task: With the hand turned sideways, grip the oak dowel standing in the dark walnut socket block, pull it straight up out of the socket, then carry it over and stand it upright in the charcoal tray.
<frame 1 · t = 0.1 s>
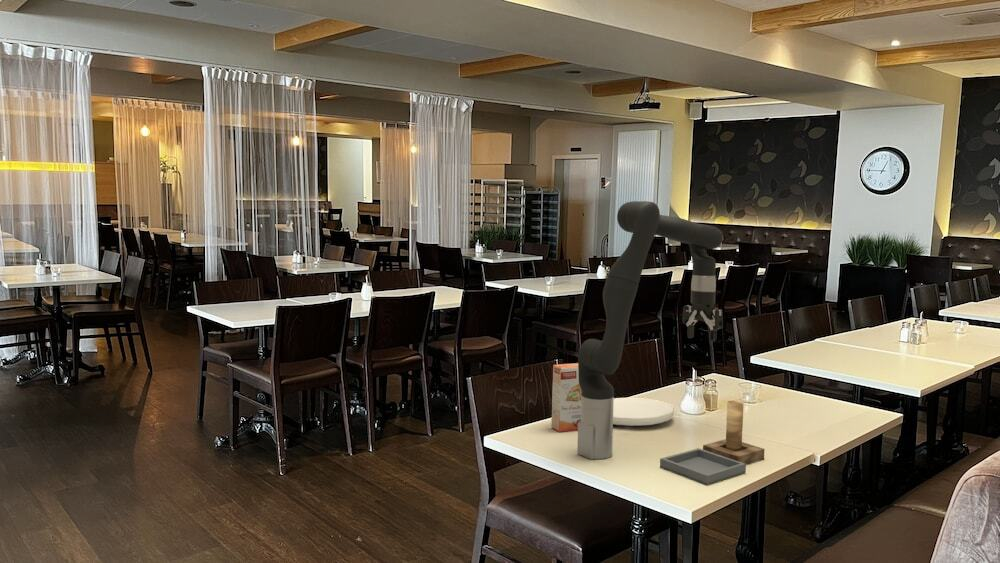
hand: (701, 339, 238), 29 cm above the table, tool pointing down, fingers open, 8 cm apart
dowel: (734, 430, 212), in the socket block
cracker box: (574, 428, 240), on the table
tray: (702, 470, 202), on the table
plate: (631, 420, 251), on the table
socket block: (733, 457, 213), on the table
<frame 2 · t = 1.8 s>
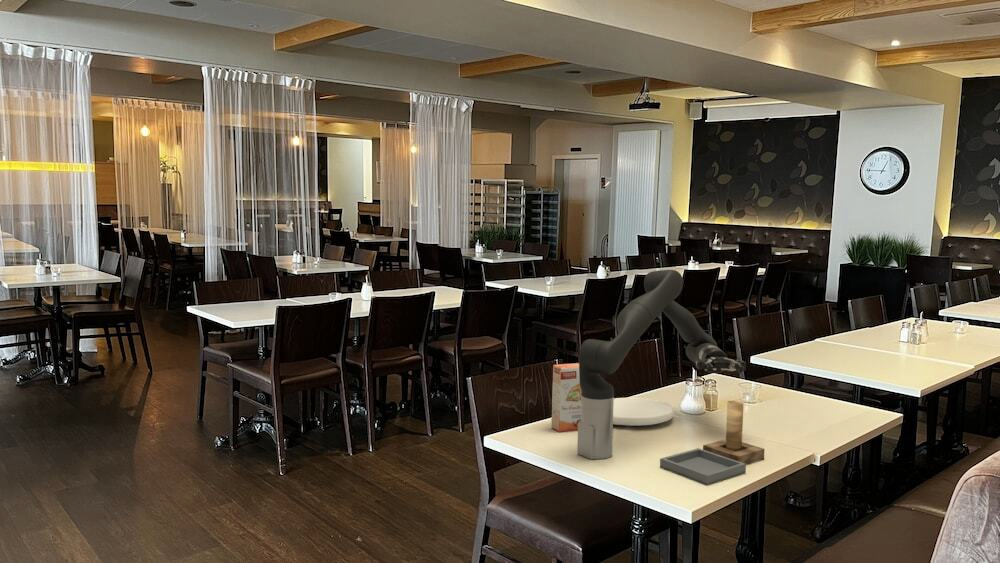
hand: (726, 369, 222), 23 cm above the table, tool horizontal, fingers open, 8 cm apart
nothing on the table moved.
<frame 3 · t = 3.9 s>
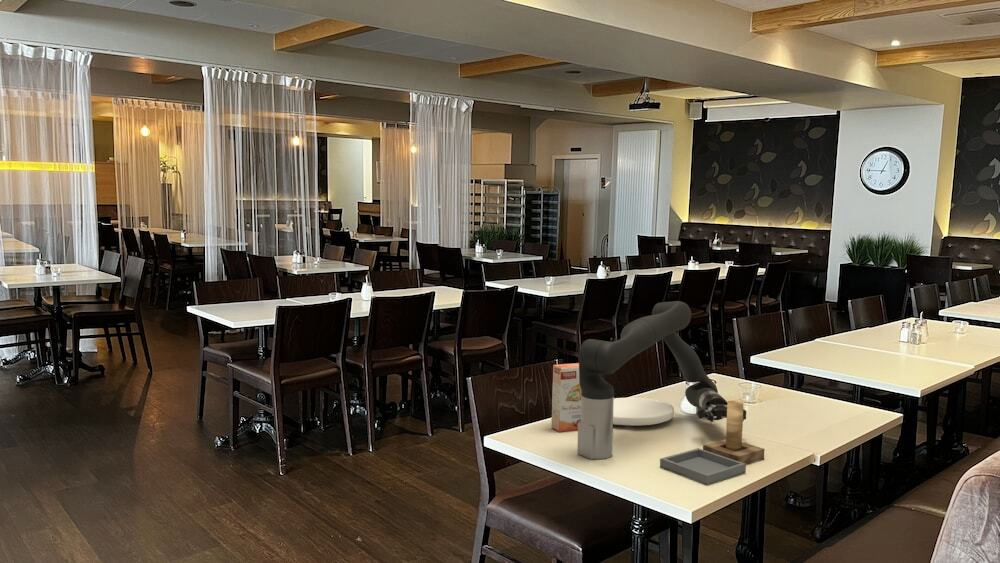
hand: (726, 419, 220), 9 cm above the table, tool horizontal, fingers open, 8 cm apart
nothing on the table moved.
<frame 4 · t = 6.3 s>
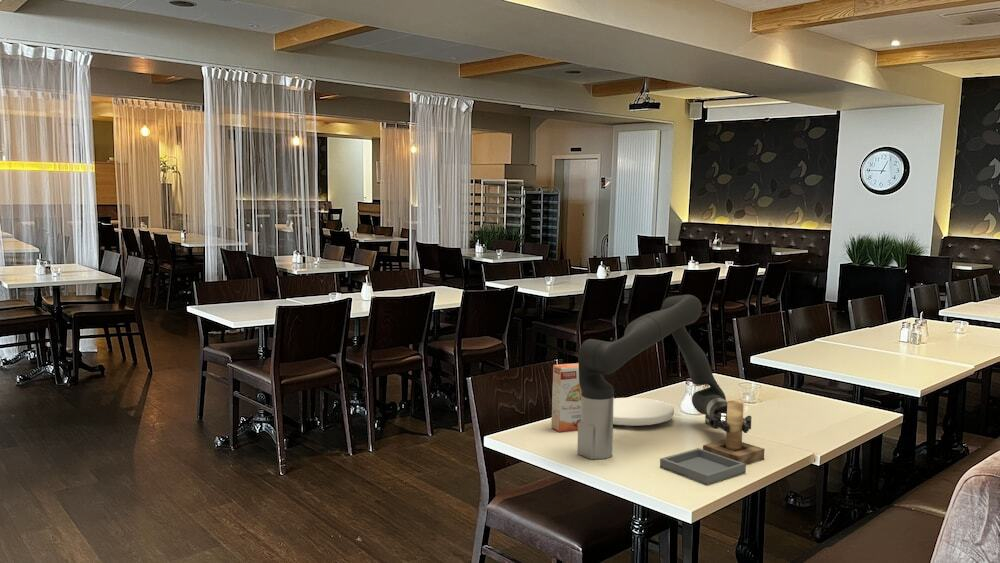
hand: (737, 429, 210), 9 cm above the table, tool horizontal, fingers closed on dowel, 4 cm apart
dowel: (734, 430, 212), in the socket block, touching gripper
everything else where it was.
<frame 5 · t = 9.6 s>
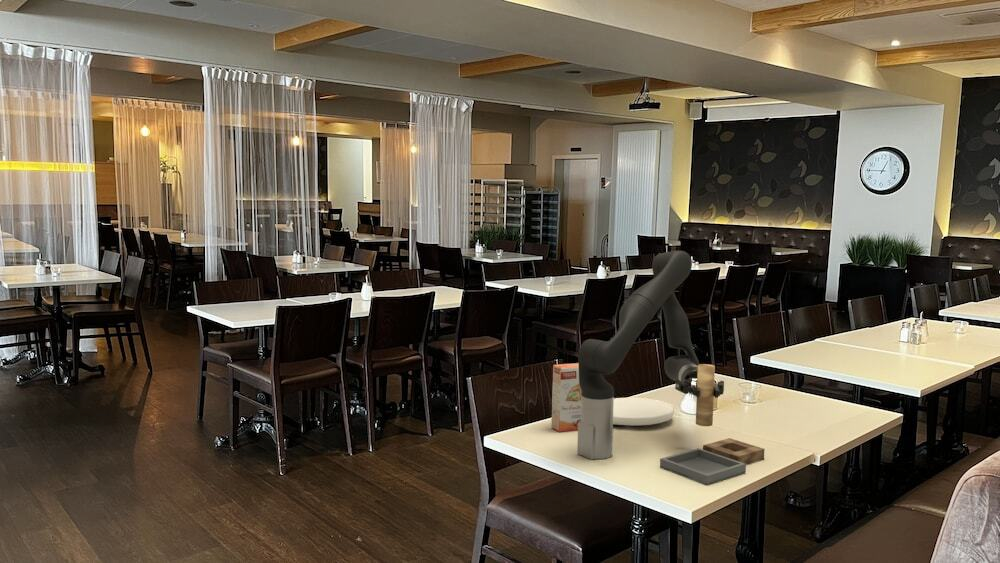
hand: (707, 393, 198), 22 cm above the table, tool horizontal, fingers closed on dowel, 4 cm apart
dowel: (705, 395, 200), point 21 cm above the table, touching gripper
everything else where it was.
when the fingers open (10 cm above the table, at t = 12.8 s): dowel stays where it is, resting on tray.
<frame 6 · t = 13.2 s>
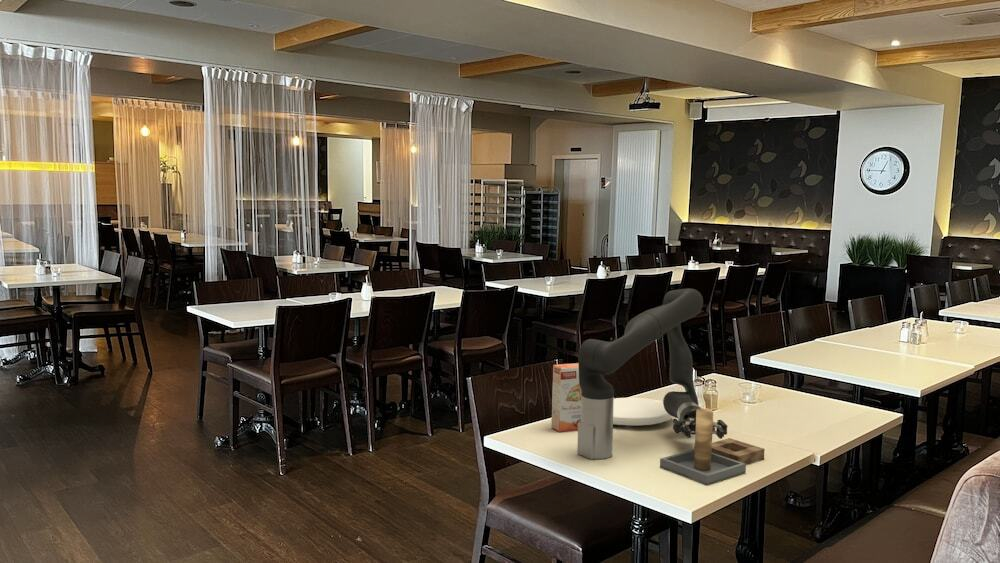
hand: (705, 434, 199), 11 cm above the table, tool horizontal, fingers open, 8 cm apart
dowel: (703, 439, 201), in the tray
everything else where it was.
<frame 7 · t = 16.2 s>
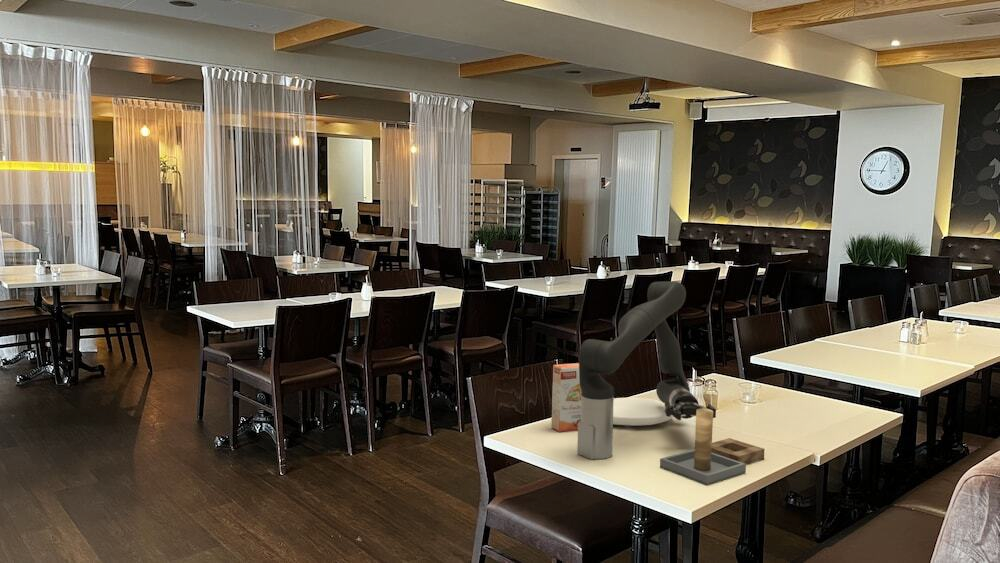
hand: (695, 417, 211), 12 cm above the table, tool horizontal, fingers open, 8 cm apart
nothing on the table moved.
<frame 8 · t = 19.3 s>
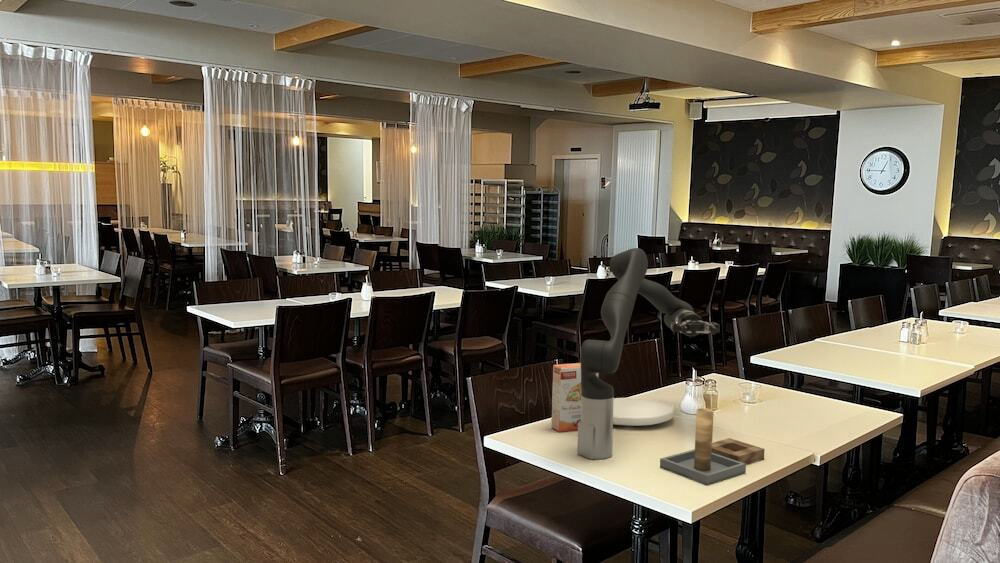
hand: (700, 330, 225), 34 cm above the table, tool horizontal, fingers open, 8 cm apart
nothing on the table moved.
at the end: dowel inside the target area on the tray (0.1 cm from its centre), point 8.5 cm above the tray's base; dowel tilted 1°; the gripper is holding nothing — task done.
